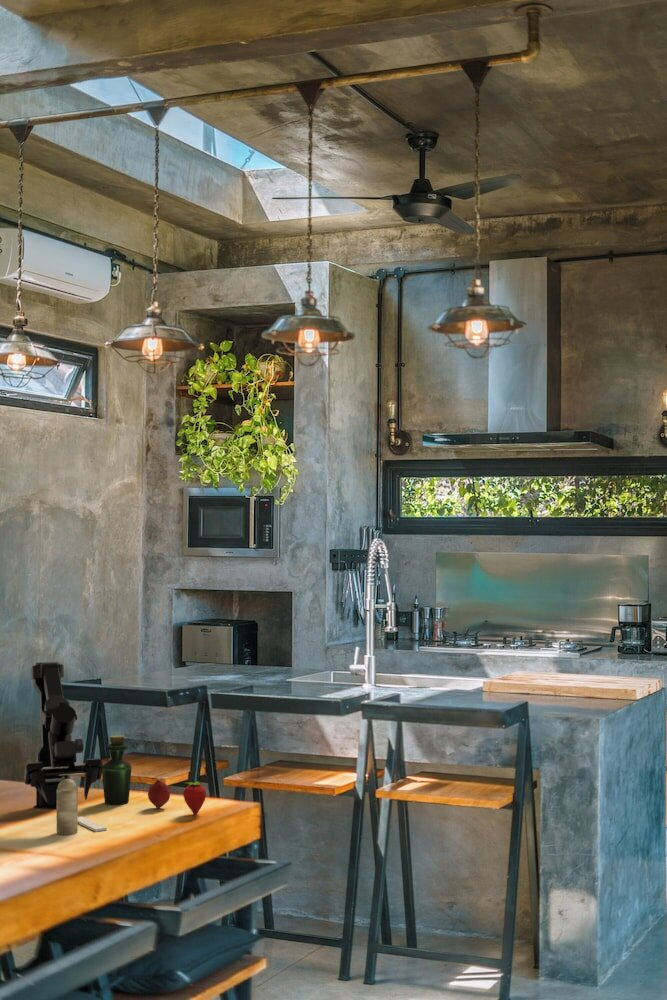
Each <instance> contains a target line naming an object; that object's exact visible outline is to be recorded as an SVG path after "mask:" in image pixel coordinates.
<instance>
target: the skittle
mask: <svg viewBox="0 0 667 1000" xmlns="http://www.w3.org/2000/svg"><path fill="white" fill-rule="evenodd" d="M78 792H79V791H78V785H77V784H76V782H75V780H73V779H71V778H68V779H64V780H62V781H61V782H60V783H59V785H58V789H57V808H56V835H58V836H71V835H75V834H78V832H79V831H78V830H79V828H78V827H79V826H78V817H79V816H78V815H79V814H78V802H79V800H78V794H79V793H78Z"/></svg>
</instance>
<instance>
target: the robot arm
mask: <svg viewBox="0 0 667 1000" xmlns="http://www.w3.org/2000/svg"><path fill="white" fill-rule="evenodd" d="M64 667H65V666H64V664H63V663H59V662H58V661H51V662H50V661H49V662H48V661H46V662H45V661H42V662H35V664H34V665H32V666H30V680H31V681H33V682H32V683H33V688H34V690H35V691H36V692H37V694H38V695H39V710H40V711H39V712H40V714H39V715H40V730H41V731H40V736H41V737H40V739H41V748H40V750H39V752H38V754H37V757H36V759H35V762H26V765H25V768H24V777H23V778H24V784H25V785H27V786H28V785H30V787H31V788H35V789H36V791H35V792H36V794H35V797H36V798H35V799H36V804H35V805H33V809H51V810H52V809H54V810H55V809H56V810H57V789H58V785H59V783H60V782H61V781H62V780H64V779H69V776H71V775H84V781H83V787H84V788H83V794H84V795H83V796H84V800H87V799H88V796H89V792H90V788H91V785H92V784H93V783H96V782H97V781H99V780H100V779H102V770H103V765H104V761H103V759H101V758H99V757H98V758H86V759H85V764H84V765H83V764H81V765H76V763H77V754H82V753H83V752H84V740H83V738H76V739H75V740H73V738H72V733H73V732H74V729H75V722H76V721H77V720H78V714H77V713H76V710H75V709H74V708H73V707H72V706H71V704H70V700H68V699H66V698H65V697H64V694H63V693H64V692H63V687H62V679H63V678H64V674H65V673H64Z"/></svg>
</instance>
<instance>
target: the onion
mask: <svg viewBox="0 0 667 1000" xmlns="http://www.w3.org/2000/svg"><path fill="white" fill-rule="evenodd" d="M170 797H171V790H170V788H169V786H168V785H167V784H166V783H165V782H164V781H162V780H161V779H160V777H156V781H155V782H153V784H151V785H150V787H149V788H148V791H147V798H148V800H149V802H150V803H151V804H153V806H154V807H156V808H157V809H161V808H162V807H163V806H164V805H166V804H167V803H168V802H169V800H170ZM160 807H161V808H160Z"/></svg>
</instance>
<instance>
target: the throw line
mask: <svg viewBox="0 0 667 1000" xmlns="http://www.w3.org/2000/svg"><path fill="white" fill-rule="evenodd" d="M78 824H79V825H80V826H83V827H84V828H87V829H89V830H91V831H93V832H96V833H97V832H104V831H108V827H106V826H104V825H102V824H100V823H98V822H95V821H93V820H91V819H90V818H87V817H85V816H78Z"/></svg>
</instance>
